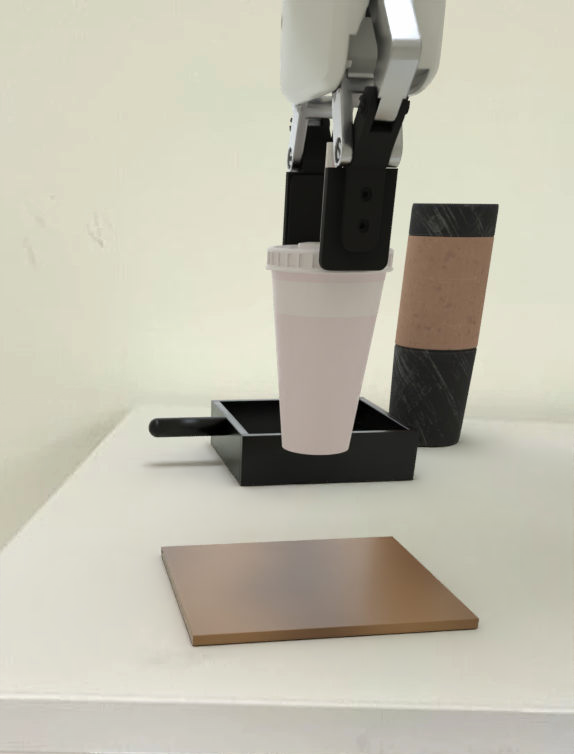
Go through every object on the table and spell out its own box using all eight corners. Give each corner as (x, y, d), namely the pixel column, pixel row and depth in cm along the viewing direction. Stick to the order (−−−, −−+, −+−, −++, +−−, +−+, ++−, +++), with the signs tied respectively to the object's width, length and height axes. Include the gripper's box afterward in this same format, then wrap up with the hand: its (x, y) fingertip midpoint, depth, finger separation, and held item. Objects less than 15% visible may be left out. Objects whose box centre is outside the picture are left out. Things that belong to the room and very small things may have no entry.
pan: (358, 439, 86) (363, 396, 84) (413, 479, 74) (420, 431, 72) (140, 445, 83) (139, 401, 81) (159, 488, 71) (158, 438, 69)
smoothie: (337, 430, 52) (363, 146, 44) (395, 455, 47) (434, 140, 39) (239, 438, 50) (248, 143, 42) (289, 465, 45) (309, 135, 37)
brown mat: (391, 544, 60) (392, 536, 59) (477, 628, 48) (479, 618, 48) (161, 555, 57) (161, 546, 57) (192, 646, 46) (192, 635, 45)
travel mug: (465, 449, 83) (506, 203, 72) (384, 445, 84) (413, 203, 73) (458, 431, 89) (494, 203, 79) (383, 428, 90) (409, 203, 80)
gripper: (573, -364, 27) (473, 278, 37) (387, -169, 42) (350, 256, 51) (344, -389, 26) (302, 278, 36) (235, -180, 41) (226, 256, 50)
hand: (330, 261), depth 43 cm, fingers closed on smoothie, 6 cm apart
